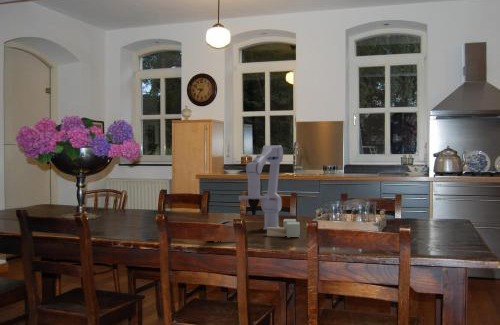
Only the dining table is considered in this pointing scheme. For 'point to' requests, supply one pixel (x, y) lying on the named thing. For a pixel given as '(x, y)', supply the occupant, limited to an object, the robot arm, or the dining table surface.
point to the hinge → (226, 223)
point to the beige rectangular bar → (276, 231)
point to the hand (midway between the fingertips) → (253, 215)
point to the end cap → (293, 229)
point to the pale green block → (288, 221)
